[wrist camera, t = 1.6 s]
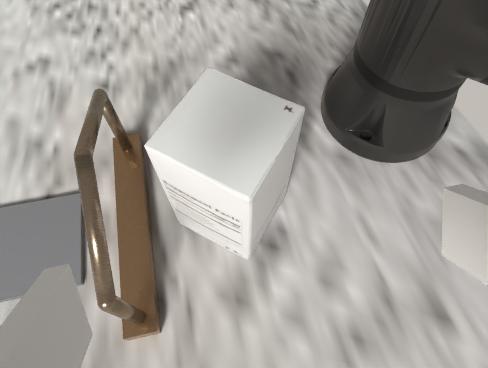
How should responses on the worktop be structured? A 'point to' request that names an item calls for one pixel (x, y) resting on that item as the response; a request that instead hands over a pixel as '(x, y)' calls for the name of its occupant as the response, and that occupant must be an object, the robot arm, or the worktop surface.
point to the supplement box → (227, 159)
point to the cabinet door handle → (119, 224)
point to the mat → (39, 242)
